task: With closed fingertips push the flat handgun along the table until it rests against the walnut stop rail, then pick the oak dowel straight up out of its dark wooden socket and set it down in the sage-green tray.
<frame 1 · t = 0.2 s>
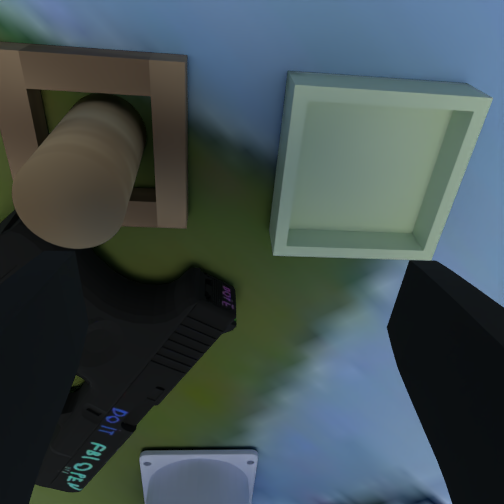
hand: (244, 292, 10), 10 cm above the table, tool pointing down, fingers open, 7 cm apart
dowel: (107, 132, 17), resting in socket
handgun: (59, 351, 25), on the table, touching socket
socket: (103, 138, 17), on the table
tray: (359, 163, 19), on the table
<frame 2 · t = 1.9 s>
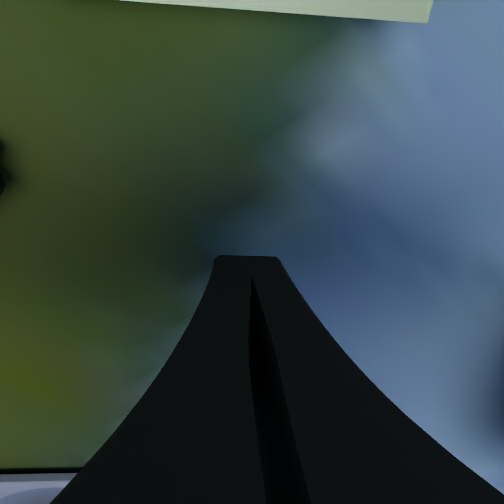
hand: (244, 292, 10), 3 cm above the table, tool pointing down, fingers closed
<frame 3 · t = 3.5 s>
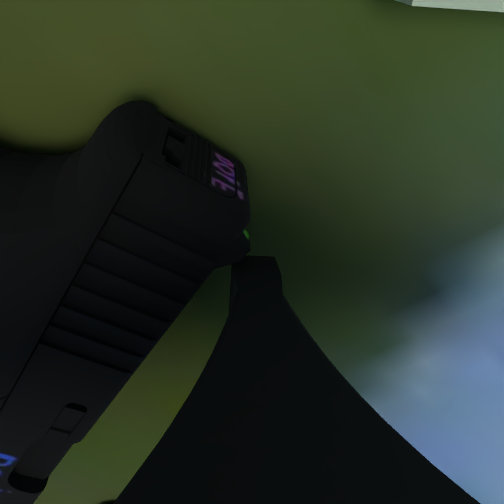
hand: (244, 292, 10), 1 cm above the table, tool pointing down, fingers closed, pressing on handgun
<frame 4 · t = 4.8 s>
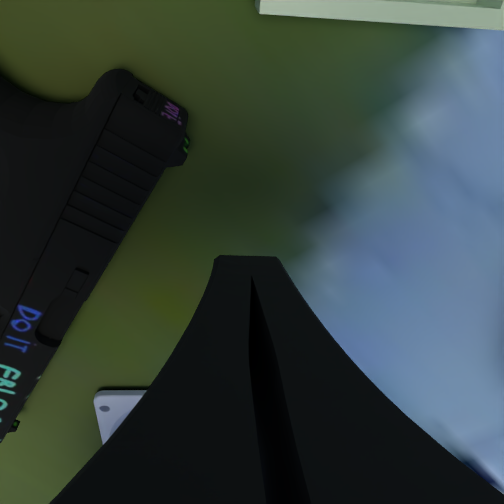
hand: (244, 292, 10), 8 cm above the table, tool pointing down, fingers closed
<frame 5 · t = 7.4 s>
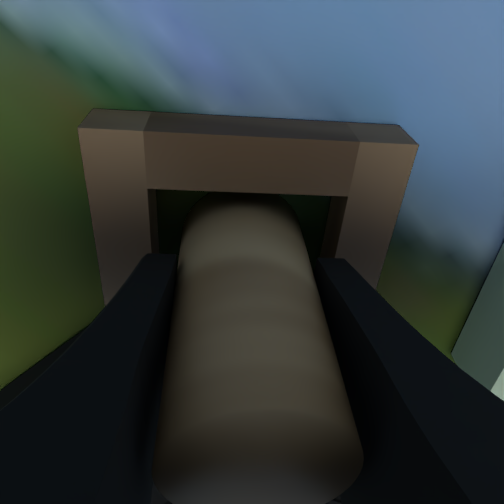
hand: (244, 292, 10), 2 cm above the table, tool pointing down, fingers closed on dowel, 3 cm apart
dowel: (241, 238, 11), resting in socket, touching gripper
handgun: (114, 488, 18), on the table, touching socket
socket: (241, 244, 11), on the table
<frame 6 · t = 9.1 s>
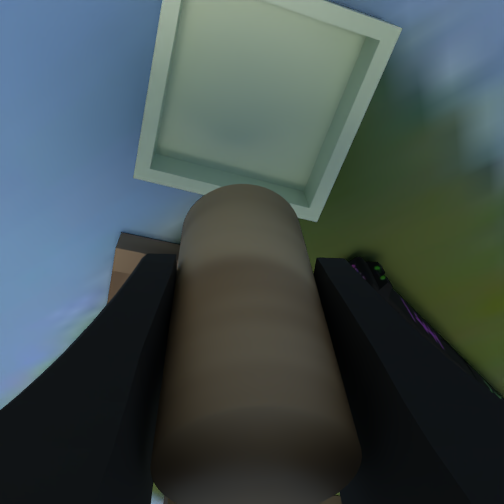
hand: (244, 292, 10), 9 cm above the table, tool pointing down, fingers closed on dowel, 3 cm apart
dowel: (241, 237, 11), point 7 cm above the table, touching gripper
handgun: (371, 390, 27), on the table, touching socket
socket: (181, 302, 21), on the table
tray: (253, 92, 16), on the table
when the fingers open (4 cm above the table, at t = 10.5 s): dowel drops 2 cm, resting on tray.
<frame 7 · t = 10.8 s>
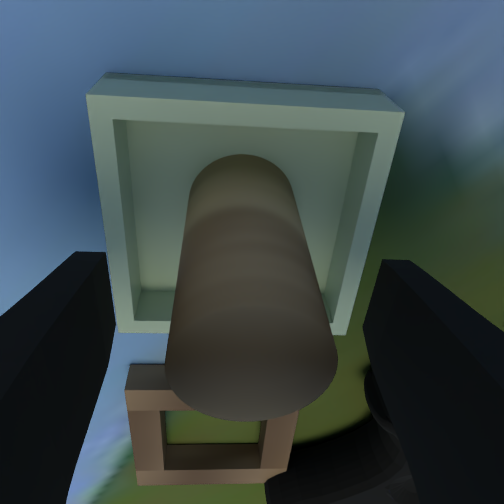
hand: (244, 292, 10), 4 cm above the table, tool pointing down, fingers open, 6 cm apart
dowel: (241, 203, 13), point 1 cm above the table, touching tray
handgun: (453, 461, 23), on the table, touching socket
socket: (214, 416, 19), on the table
tray: (238, 202, 13), on the table
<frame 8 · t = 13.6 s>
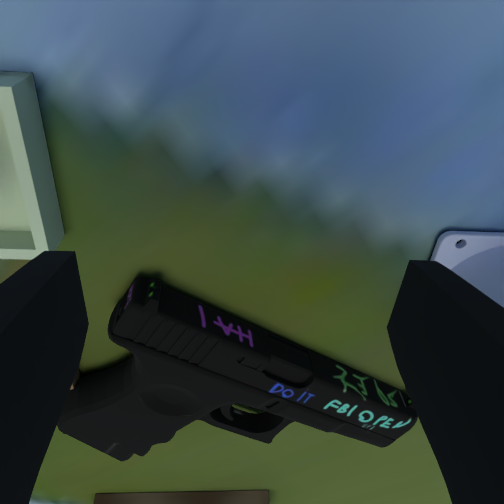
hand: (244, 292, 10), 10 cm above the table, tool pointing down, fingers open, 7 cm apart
stop rail: (183, 498, 34), on the table
handgun: (239, 390, 28), on the table, touching socket
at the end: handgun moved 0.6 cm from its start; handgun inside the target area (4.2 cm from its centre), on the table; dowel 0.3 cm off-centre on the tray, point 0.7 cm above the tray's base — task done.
